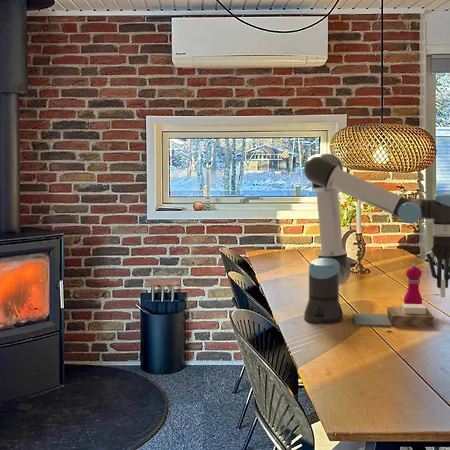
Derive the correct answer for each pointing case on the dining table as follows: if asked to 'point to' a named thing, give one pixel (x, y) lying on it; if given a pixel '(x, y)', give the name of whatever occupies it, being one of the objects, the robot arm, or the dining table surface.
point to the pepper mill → (413, 286)
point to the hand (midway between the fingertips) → (442, 296)
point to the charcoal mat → (371, 320)
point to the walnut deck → (409, 318)
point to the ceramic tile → (413, 309)
